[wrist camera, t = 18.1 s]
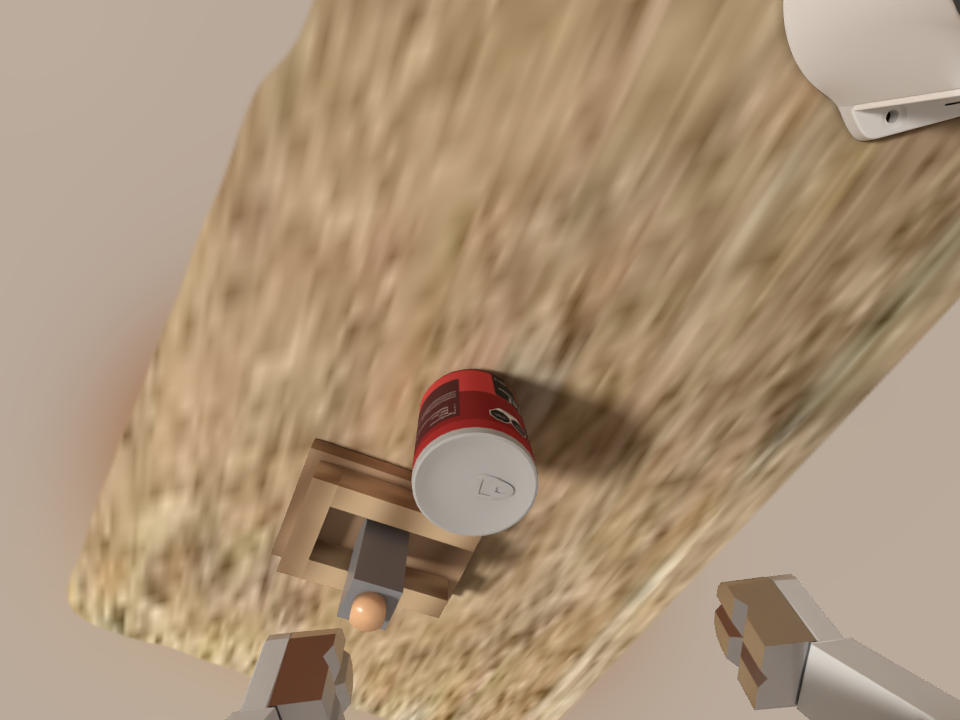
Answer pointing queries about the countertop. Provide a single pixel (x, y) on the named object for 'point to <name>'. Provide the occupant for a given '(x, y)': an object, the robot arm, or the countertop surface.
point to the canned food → (472, 456)
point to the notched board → (340, 515)
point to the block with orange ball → (374, 576)
